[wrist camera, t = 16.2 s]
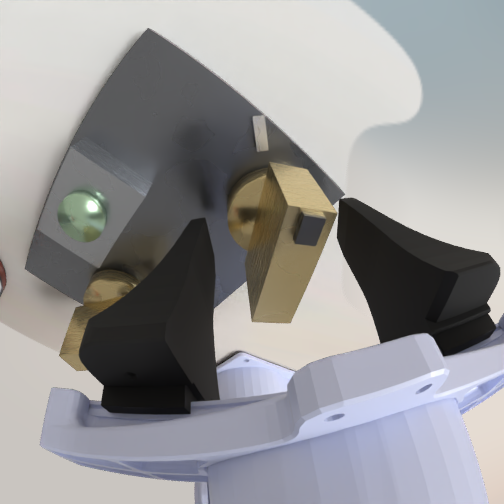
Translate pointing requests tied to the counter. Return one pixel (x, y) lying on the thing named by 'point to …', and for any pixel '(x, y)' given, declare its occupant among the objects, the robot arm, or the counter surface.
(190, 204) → the instrument base
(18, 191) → the counter surface
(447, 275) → the robot arm
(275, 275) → the knob
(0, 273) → the supplement bottle
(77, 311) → the knob
